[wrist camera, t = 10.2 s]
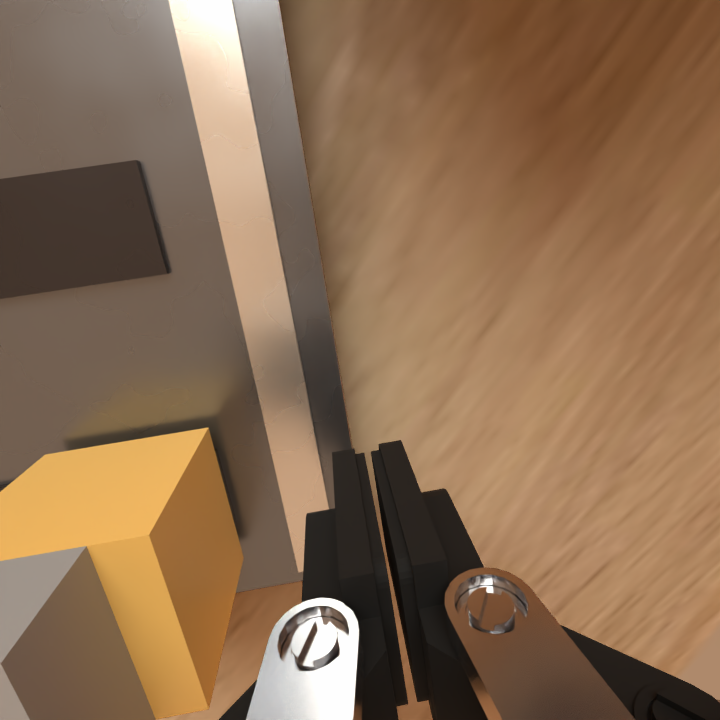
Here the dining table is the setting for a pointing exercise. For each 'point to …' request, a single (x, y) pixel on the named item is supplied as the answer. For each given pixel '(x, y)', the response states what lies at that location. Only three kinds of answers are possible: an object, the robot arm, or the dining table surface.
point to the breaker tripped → (116, 581)
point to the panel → (166, 254)
